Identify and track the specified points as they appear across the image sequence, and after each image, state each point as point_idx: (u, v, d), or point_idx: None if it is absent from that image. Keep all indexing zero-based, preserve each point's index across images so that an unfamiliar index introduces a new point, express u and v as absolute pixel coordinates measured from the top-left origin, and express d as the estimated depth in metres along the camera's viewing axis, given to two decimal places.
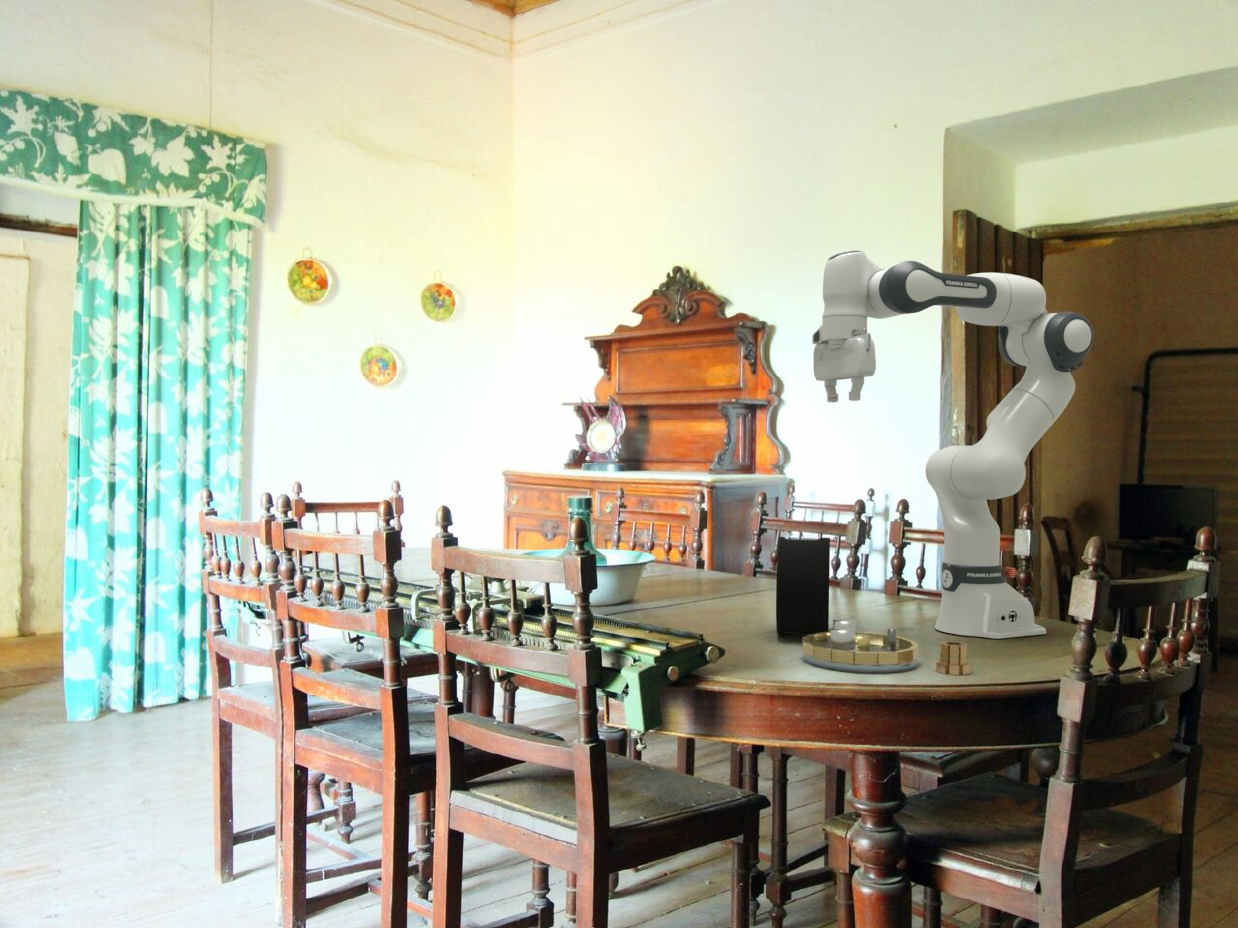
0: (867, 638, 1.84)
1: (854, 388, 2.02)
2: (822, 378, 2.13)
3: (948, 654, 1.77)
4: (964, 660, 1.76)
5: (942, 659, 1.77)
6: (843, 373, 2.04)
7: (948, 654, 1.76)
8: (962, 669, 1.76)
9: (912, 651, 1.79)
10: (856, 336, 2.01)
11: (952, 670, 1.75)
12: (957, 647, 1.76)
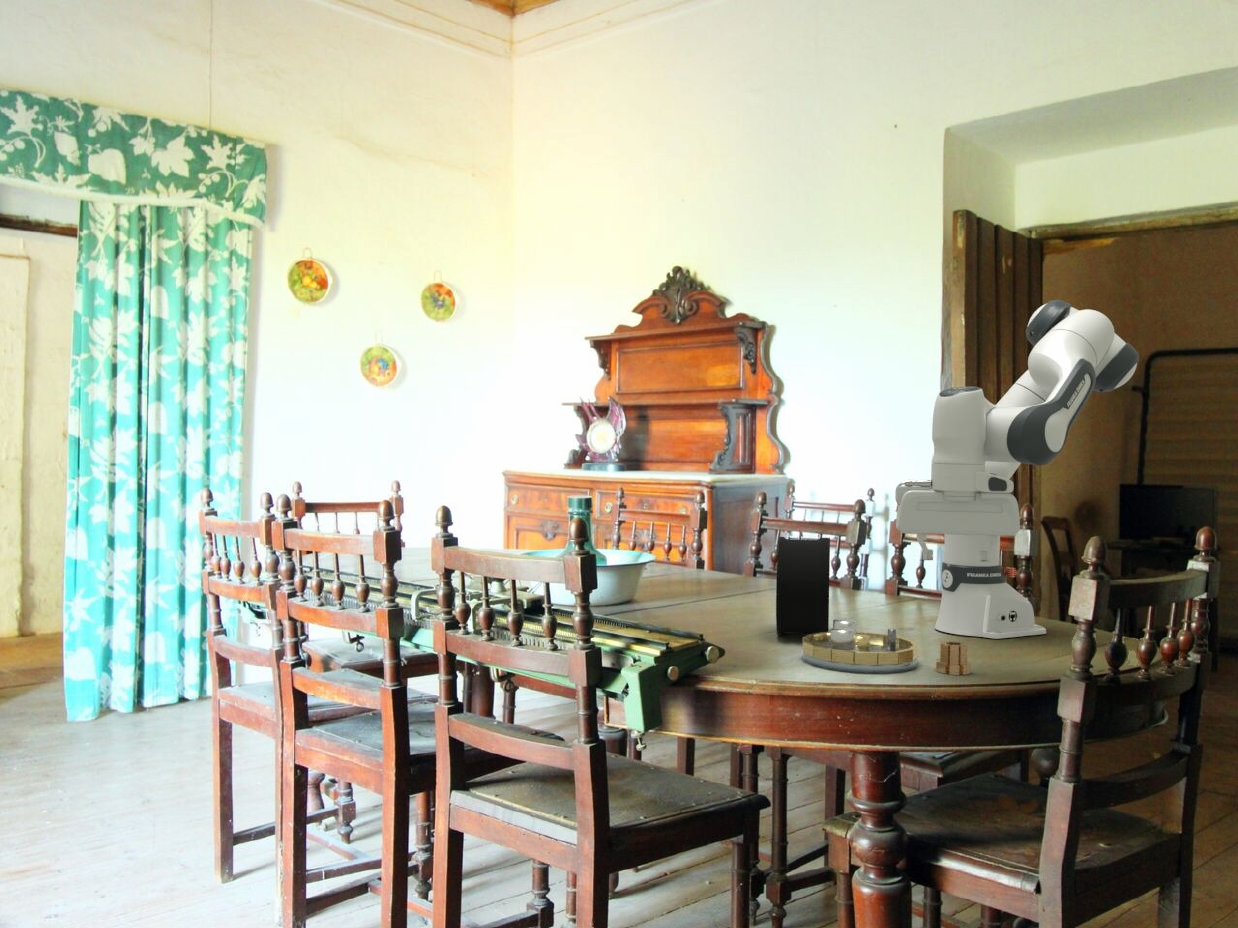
0: (867, 638, 1.84)
1: None
2: None
3: (948, 654, 1.77)
4: (964, 660, 1.76)
5: (942, 659, 1.77)
6: None
7: (948, 654, 1.76)
8: (962, 669, 1.76)
9: (912, 651, 1.79)
10: None
11: (952, 670, 1.75)
12: (957, 647, 1.76)
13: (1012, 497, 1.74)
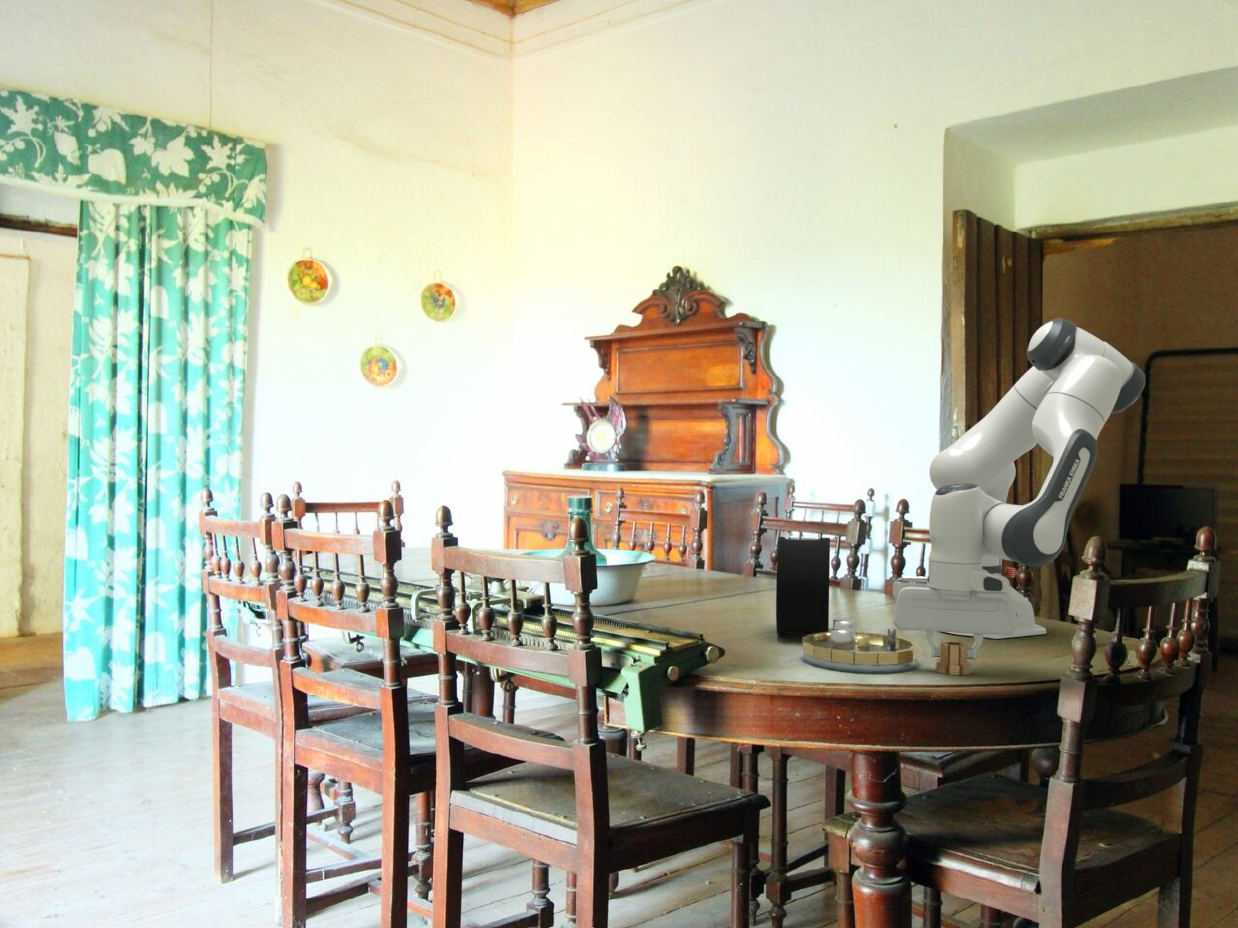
0: (867, 638, 1.84)
1: None
2: None
3: (948, 654, 1.77)
4: (964, 660, 1.76)
5: (942, 659, 1.77)
6: None
7: (948, 654, 1.76)
8: (962, 669, 1.76)
9: (912, 651, 1.79)
10: None
11: (952, 670, 1.75)
12: (957, 647, 1.76)
13: (1008, 597, 1.73)
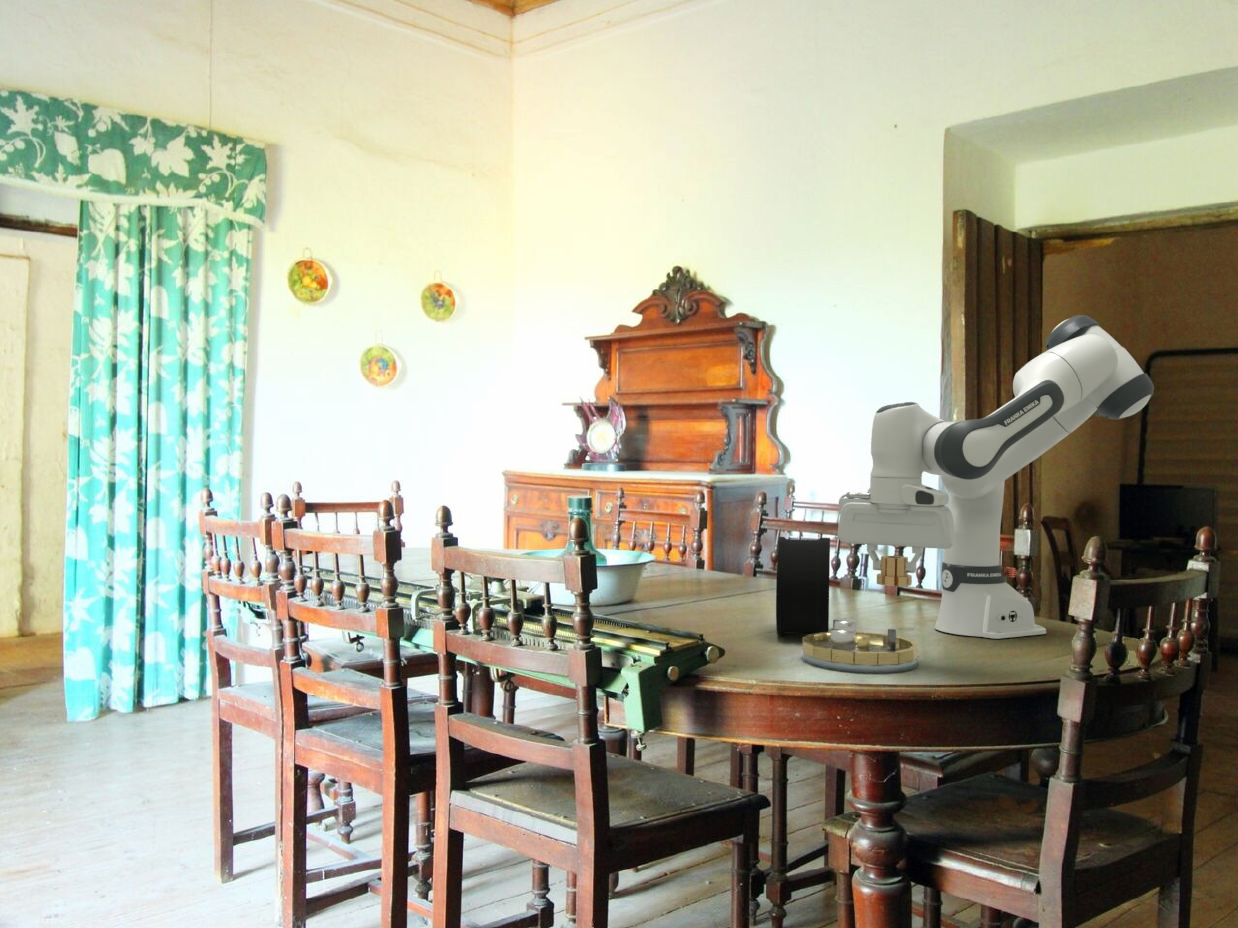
0: (867, 638, 1.84)
1: None
2: None
3: (886, 566, 1.83)
4: (901, 573, 1.82)
5: (881, 572, 1.84)
6: None
7: (885, 566, 1.82)
8: (897, 581, 1.81)
9: (912, 651, 1.79)
10: None
11: (888, 582, 1.81)
12: (893, 559, 1.81)
13: (941, 510, 1.77)
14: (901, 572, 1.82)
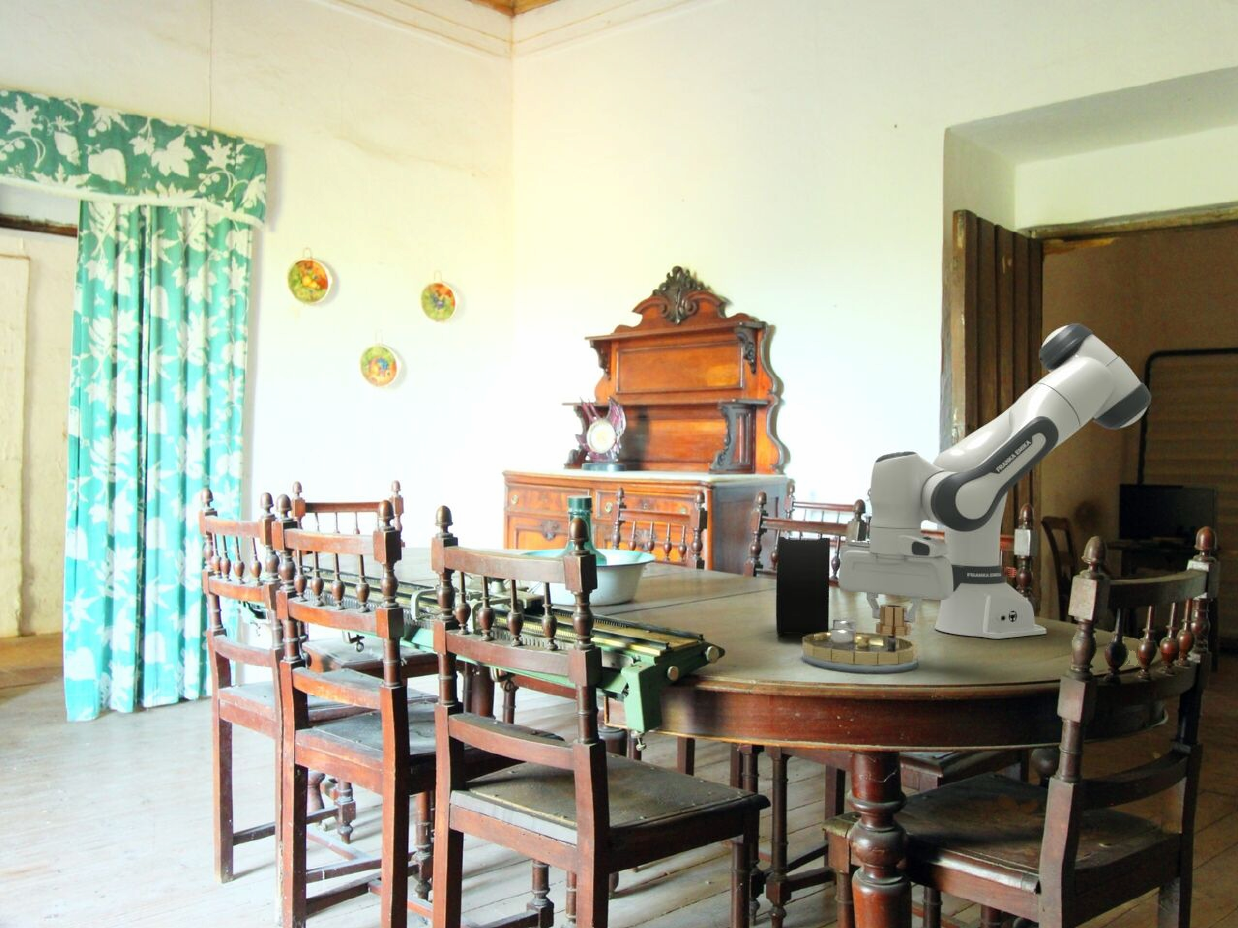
0: (867, 638, 1.84)
1: None
2: None
3: (884, 616, 1.83)
4: (899, 623, 1.82)
5: (880, 620, 1.84)
6: None
7: (883, 616, 1.83)
8: (895, 630, 1.81)
9: (912, 651, 1.79)
10: None
11: (885, 631, 1.82)
12: (891, 609, 1.82)
13: (937, 562, 1.77)
14: (899, 622, 1.82)
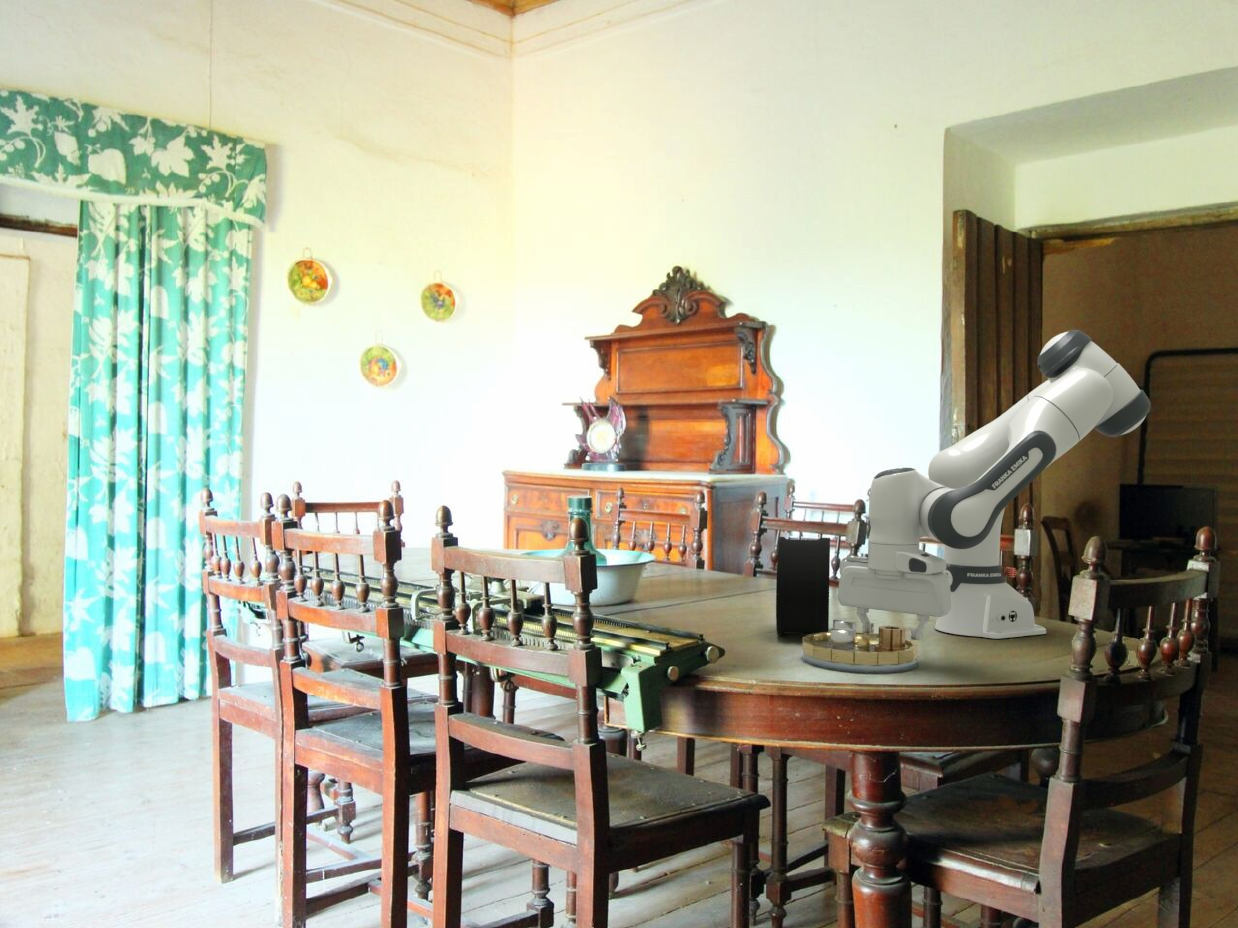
0: (867, 638, 1.84)
1: None
2: None
3: (882, 637, 1.83)
4: (897, 645, 1.82)
5: (879, 642, 1.84)
6: None
7: (881, 637, 1.83)
8: None
9: (912, 651, 1.79)
10: None
11: None
12: (889, 631, 1.82)
13: (933, 579, 1.77)
14: (897, 644, 1.82)
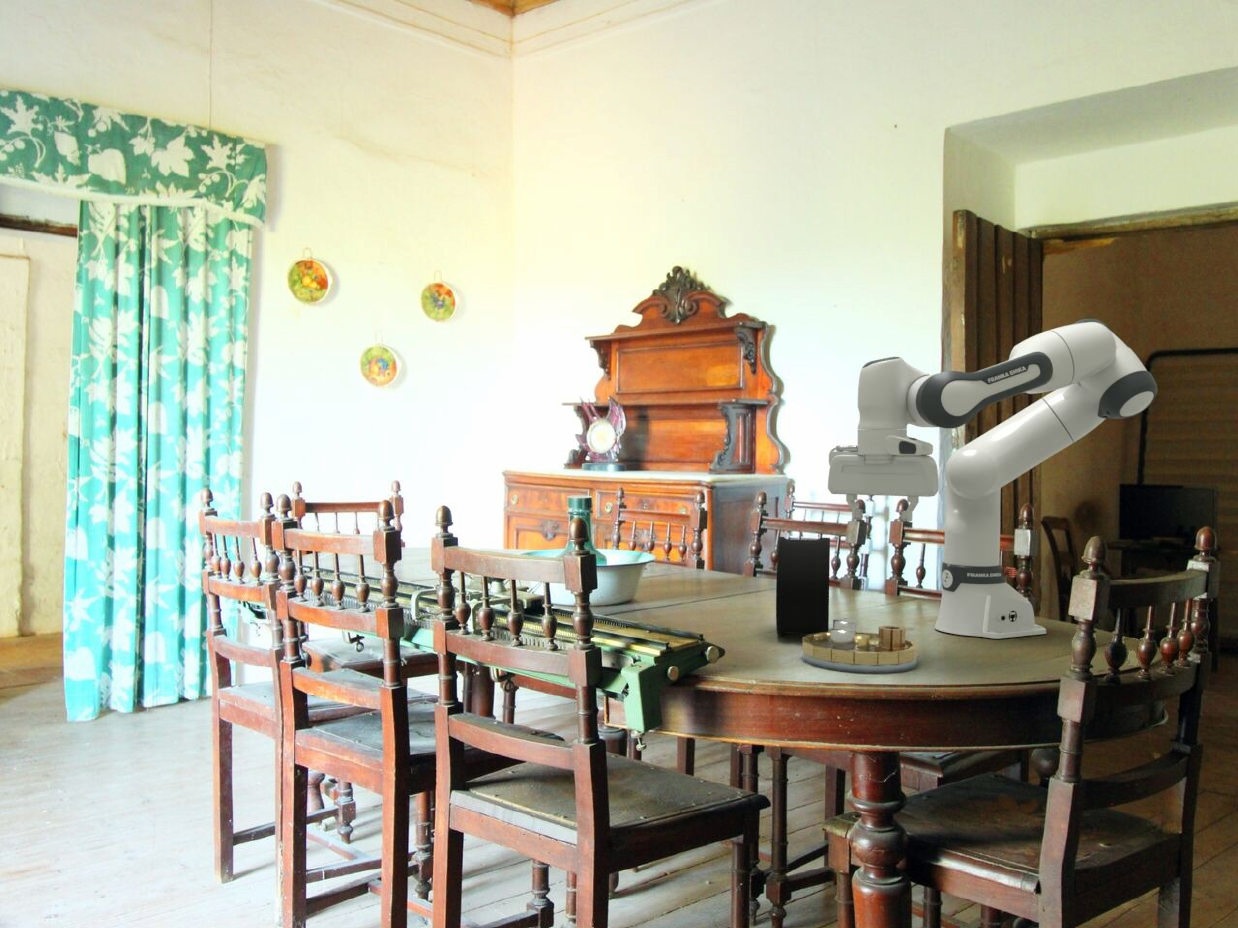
0: (867, 638, 1.84)
1: None
2: None
3: (882, 637, 1.83)
4: (897, 645, 1.82)
5: (879, 642, 1.84)
6: None
7: (881, 637, 1.83)
8: None
9: (912, 651, 1.79)
10: None
11: None
12: (889, 631, 1.82)
13: (923, 459, 1.84)
14: (897, 644, 1.82)
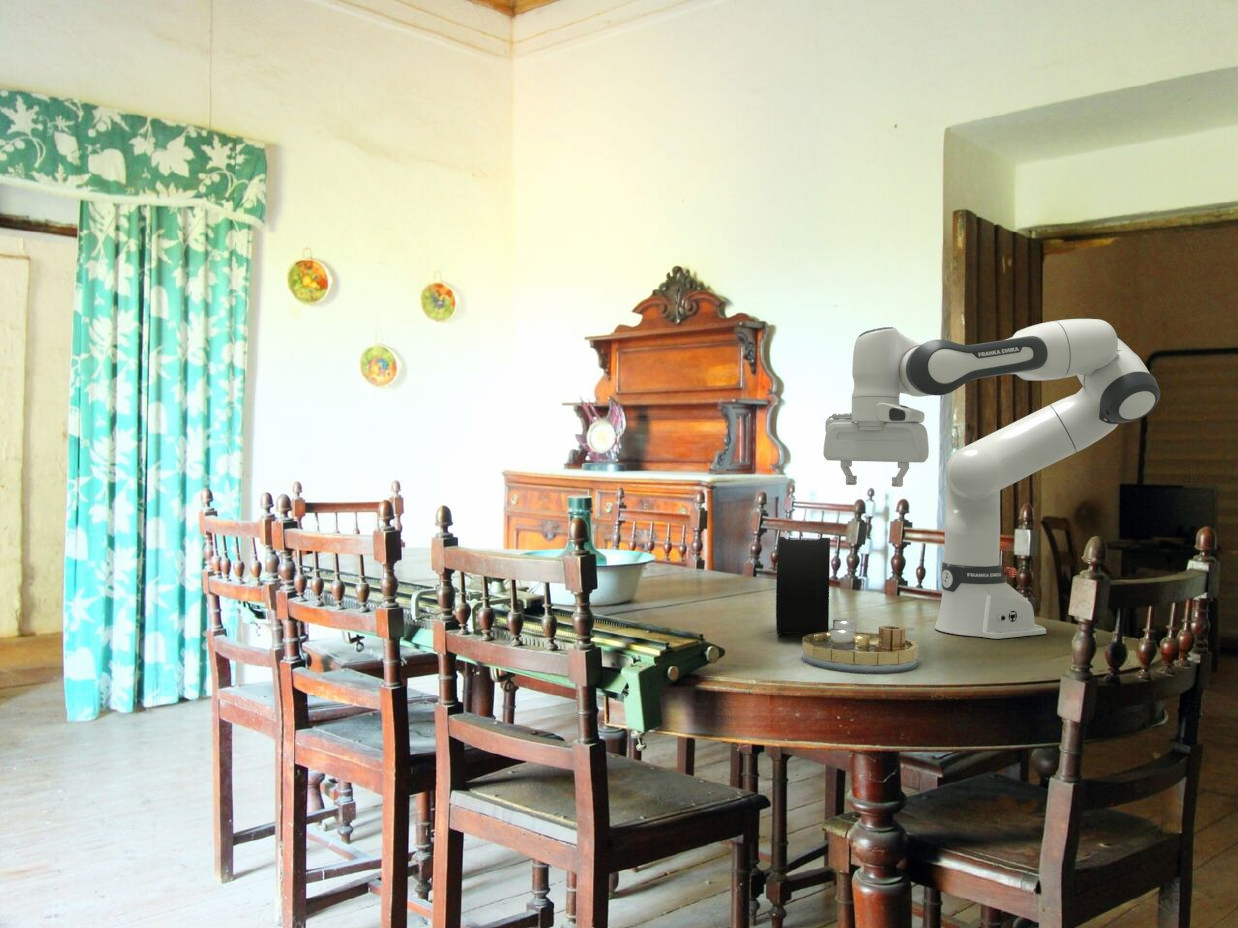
0: (867, 638, 1.84)
1: None
2: None
3: (882, 637, 1.83)
4: (897, 645, 1.82)
5: (879, 642, 1.84)
6: None
7: (881, 637, 1.83)
8: None
9: (912, 651, 1.79)
10: None
11: None
12: (889, 631, 1.82)
13: (912, 426, 1.89)
14: (897, 644, 1.82)
